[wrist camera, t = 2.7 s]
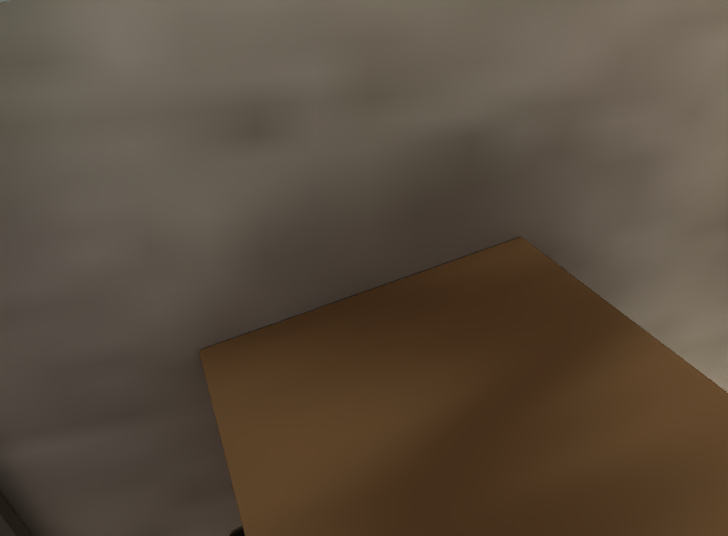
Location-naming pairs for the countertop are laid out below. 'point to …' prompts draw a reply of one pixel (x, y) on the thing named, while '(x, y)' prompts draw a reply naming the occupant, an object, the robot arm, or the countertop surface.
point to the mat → (10, 521)
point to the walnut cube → (470, 413)
